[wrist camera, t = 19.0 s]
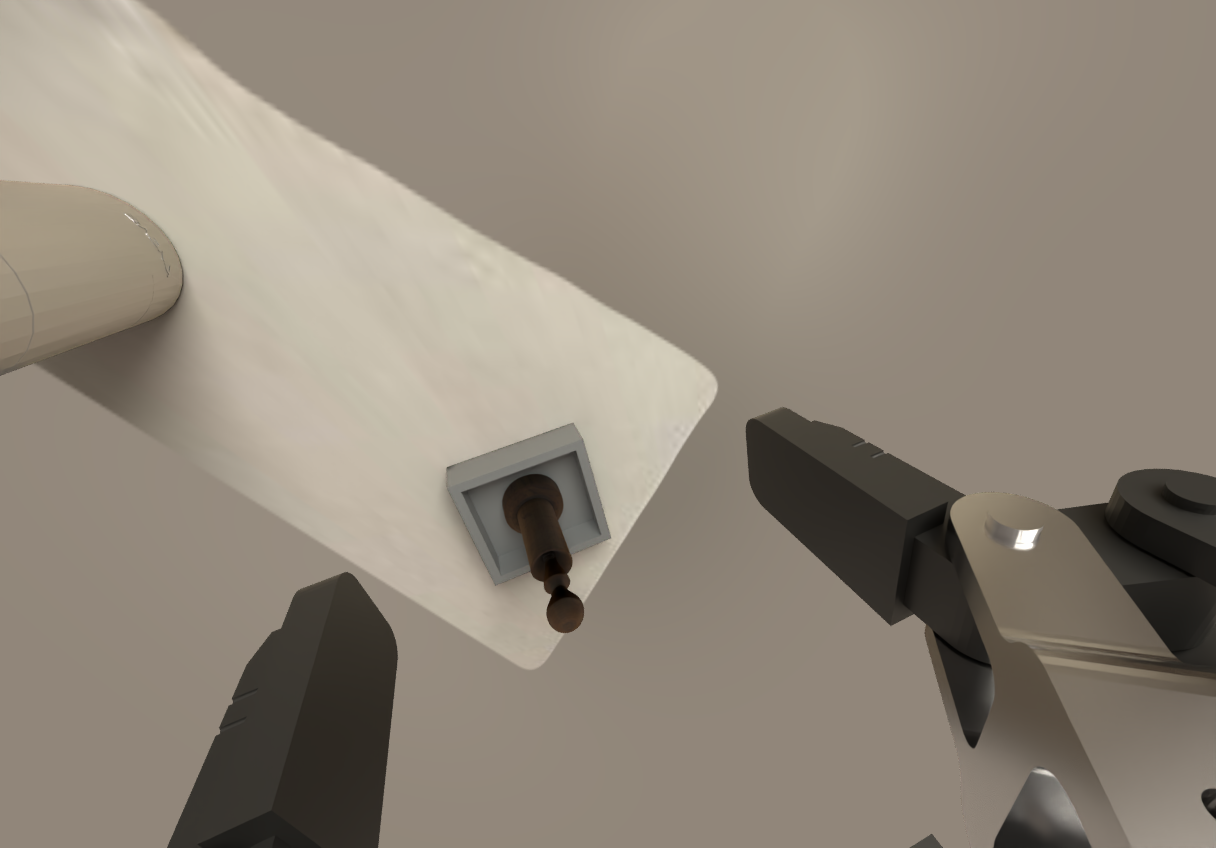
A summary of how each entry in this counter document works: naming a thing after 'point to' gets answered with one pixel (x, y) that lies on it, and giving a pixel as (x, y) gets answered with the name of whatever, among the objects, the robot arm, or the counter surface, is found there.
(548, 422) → the counter surface
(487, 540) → the tray
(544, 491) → the turned wooden knob
